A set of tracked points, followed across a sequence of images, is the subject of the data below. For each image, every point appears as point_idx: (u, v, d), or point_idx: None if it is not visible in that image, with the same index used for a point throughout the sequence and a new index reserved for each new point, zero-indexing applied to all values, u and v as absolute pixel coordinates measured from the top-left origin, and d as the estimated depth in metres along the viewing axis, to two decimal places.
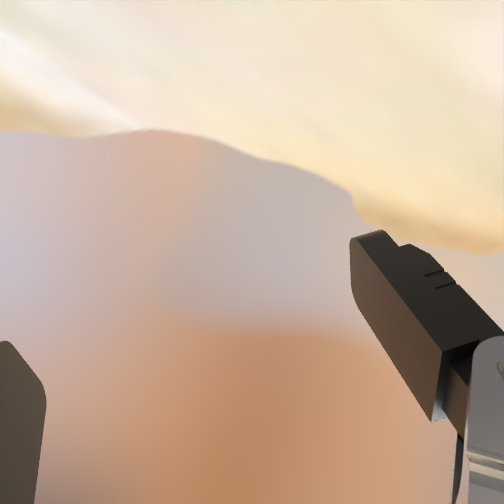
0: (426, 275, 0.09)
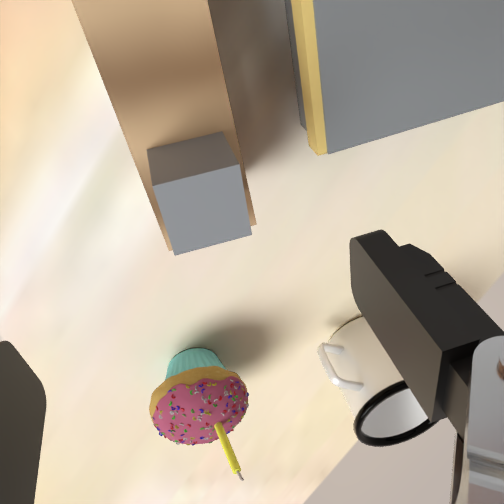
0: (426, 275, 0.09)
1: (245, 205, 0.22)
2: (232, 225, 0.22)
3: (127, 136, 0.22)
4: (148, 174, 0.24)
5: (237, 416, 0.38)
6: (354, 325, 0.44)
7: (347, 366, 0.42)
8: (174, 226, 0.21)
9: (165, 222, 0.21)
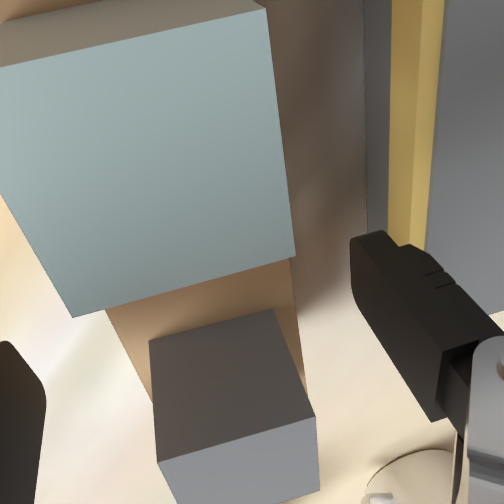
0: (426, 275, 0.09)
1: (316, 461, 0.13)
2: (290, 485, 0.13)
3: (134, 358, 0.14)
4: None
5: None
6: (405, 467, 0.36)
7: None
8: (193, 501, 0.12)
9: (177, 499, 0.12)
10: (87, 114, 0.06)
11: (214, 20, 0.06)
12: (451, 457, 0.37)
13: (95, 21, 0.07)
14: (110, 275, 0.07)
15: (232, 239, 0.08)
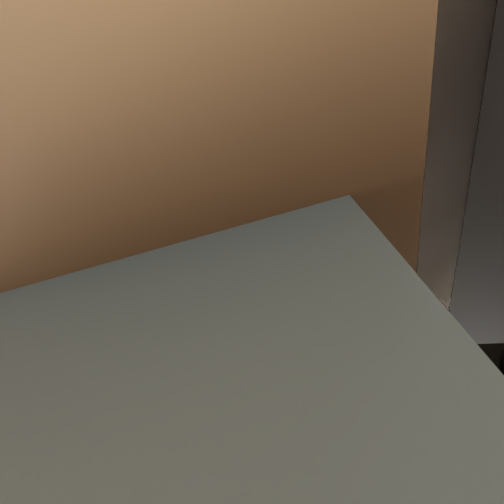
0: None
1: None
2: None
3: None
4: None
5: None
6: None
7: None
8: None
9: None
10: None
11: None
12: None
13: None
14: None
15: None
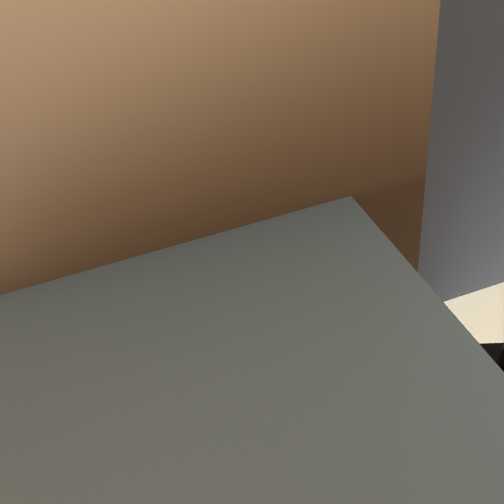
0: None
1: None
2: None
3: None
4: None
5: None
6: None
7: None
8: None
9: None
10: None
11: None
12: None
13: None
14: None
15: None
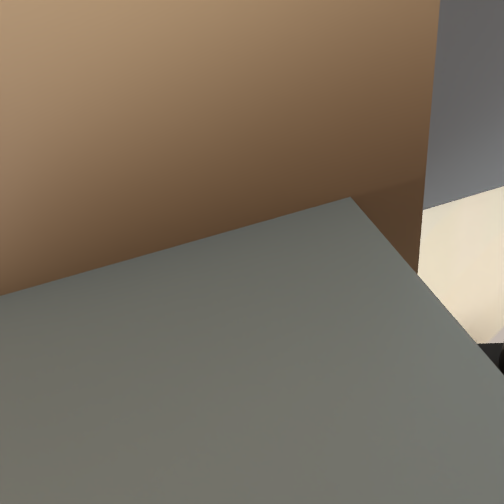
0: None
1: None
2: None
3: None
4: None
5: None
6: None
7: None
8: None
9: None
10: None
11: None
12: None
13: None
14: None
15: None
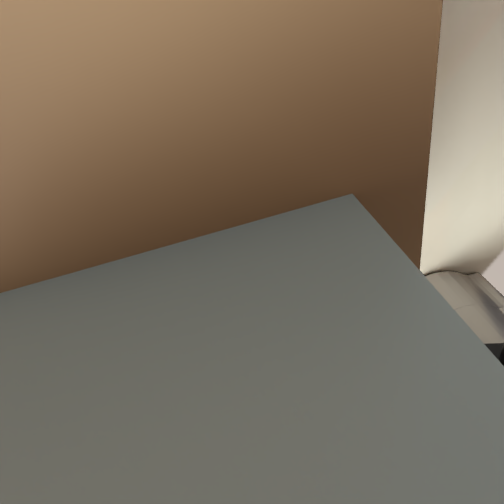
0: None
1: None
2: None
3: None
4: None
5: None
6: None
7: None
8: None
9: None
10: None
11: None
12: None
13: None
14: None
15: None
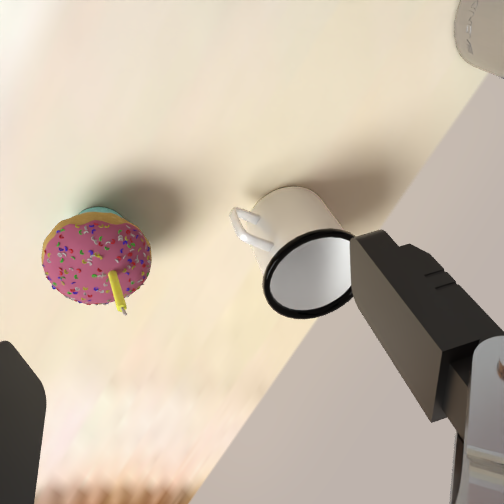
0: (426, 275, 0.09)
1: None
2: None
3: None
4: None
5: (135, 269, 0.36)
6: (272, 195, 0.42)
7: (262, 232, 0.40)
8: None
9: None
10: None
11: None
12: (316, 195, 0.43)
13: None
14: None
15: None
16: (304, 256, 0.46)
